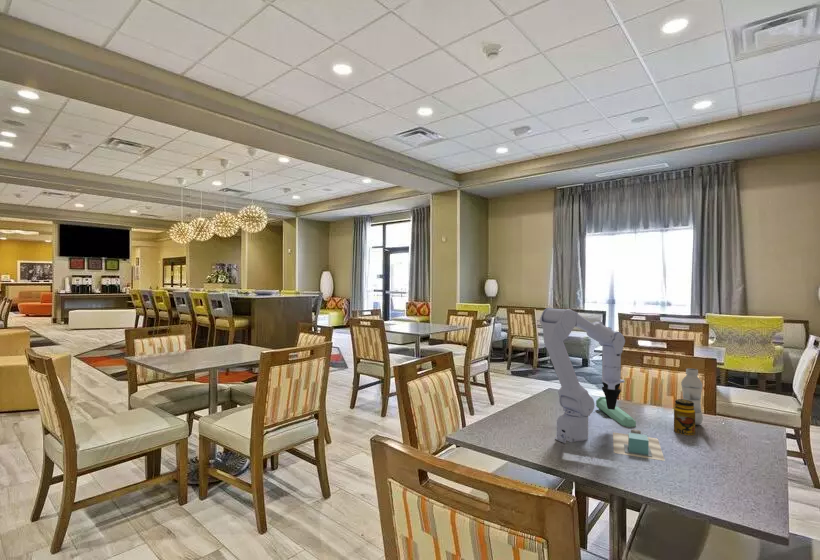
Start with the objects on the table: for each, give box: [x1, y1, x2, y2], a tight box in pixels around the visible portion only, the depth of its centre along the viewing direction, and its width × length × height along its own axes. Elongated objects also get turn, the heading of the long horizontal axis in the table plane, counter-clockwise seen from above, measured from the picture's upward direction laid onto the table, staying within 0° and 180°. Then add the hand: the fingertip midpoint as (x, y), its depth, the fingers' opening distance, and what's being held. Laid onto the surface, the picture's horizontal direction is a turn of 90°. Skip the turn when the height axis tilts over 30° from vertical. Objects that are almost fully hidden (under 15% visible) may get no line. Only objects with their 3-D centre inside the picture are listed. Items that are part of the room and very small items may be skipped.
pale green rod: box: [595, 396, 637, 428], centre depth 161 cm, size 6×6×25 cm
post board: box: [612, 428, 666, 462], centre depth 132 cm, size 19×13×4 cm
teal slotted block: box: [627, 432, 649, 454], centre depth 128 cm, size 5×5×4 cm
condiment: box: [673, 398, 696, 436], centre depth 145 cm, size 7×8×12 cm
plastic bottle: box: [681, 368, 704, 426], centre depth 157 cm, size 6×7×20 cm
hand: (611, 406), depth 146 cm, fingers open, 7 cm apart
